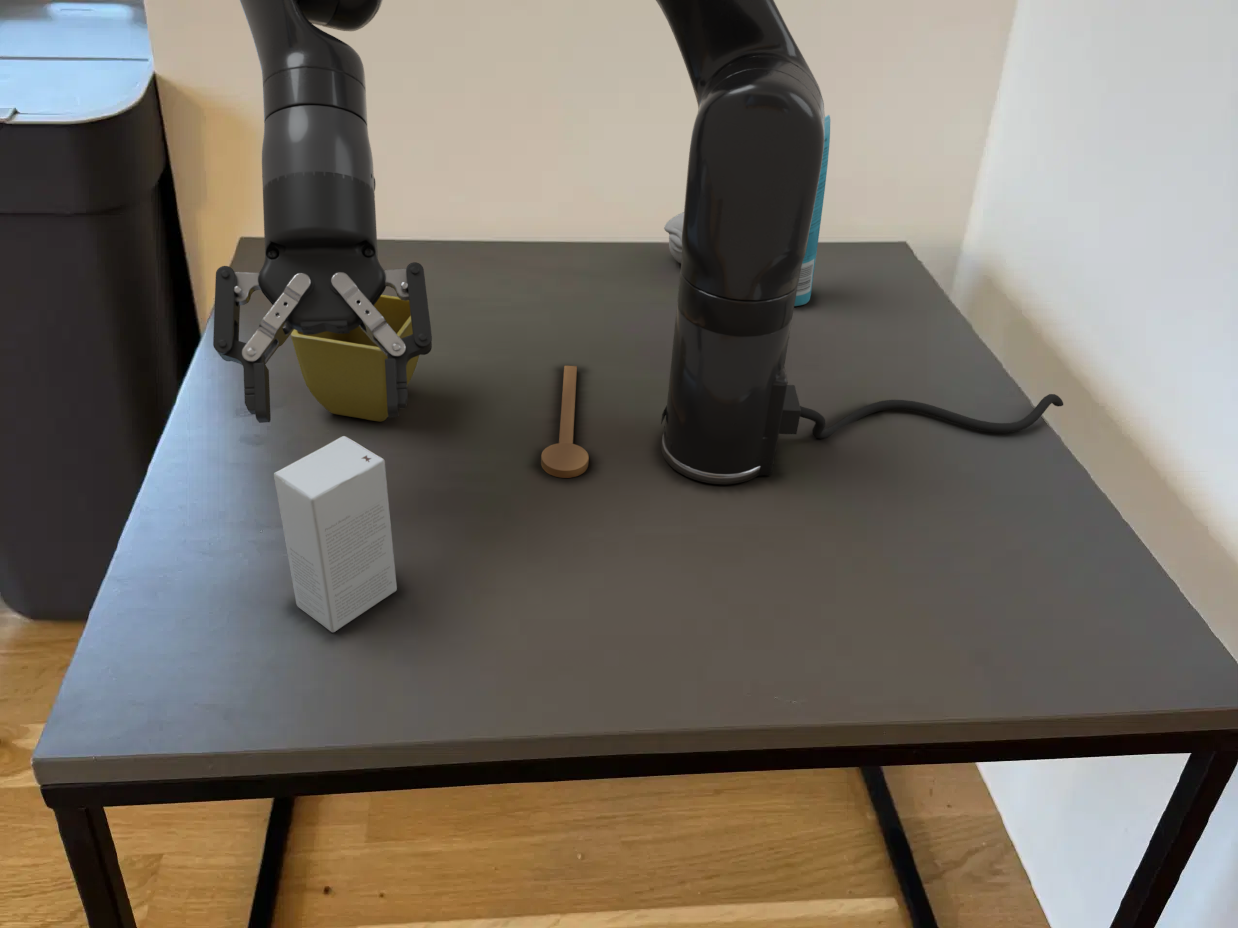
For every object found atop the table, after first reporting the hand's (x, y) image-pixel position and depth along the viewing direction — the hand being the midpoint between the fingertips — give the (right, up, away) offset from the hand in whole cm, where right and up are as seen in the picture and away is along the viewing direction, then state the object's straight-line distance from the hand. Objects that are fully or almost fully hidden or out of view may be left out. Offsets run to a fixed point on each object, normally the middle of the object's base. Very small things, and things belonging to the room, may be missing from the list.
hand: (329, 418), depth 75 cm
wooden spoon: (+15, 0, +23) cm, 28 cm away
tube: (+38, +15, +46) cm, 62 cm away
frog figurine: (+28, +20, +51) cm, 62 cm away
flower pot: (-3, +2, +25) cm, 25 cm away
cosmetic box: (0, -13, +4) cm, 14 cm away
